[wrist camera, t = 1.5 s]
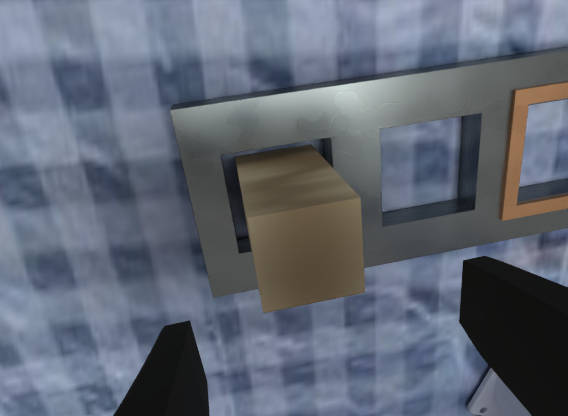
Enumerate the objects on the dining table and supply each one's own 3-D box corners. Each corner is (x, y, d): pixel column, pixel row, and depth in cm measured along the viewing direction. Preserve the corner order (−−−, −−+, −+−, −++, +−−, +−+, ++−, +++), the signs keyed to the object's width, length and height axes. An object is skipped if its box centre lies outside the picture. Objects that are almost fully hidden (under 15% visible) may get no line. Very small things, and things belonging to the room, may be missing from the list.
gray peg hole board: (632, 37, 20) (668, 37, 18) (597, 206, 23) (624, 218, 22) (173, 104, 17) (169, 111, 16) (213, 280, 21) (213, 300, 20)
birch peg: (311, 144, 19) (360, 197, 13) (317, 213, 21) (365, 292, 14) (234, 156, 19) (247, 217, 12) (247, 226, 20) (263, 312, 14)
